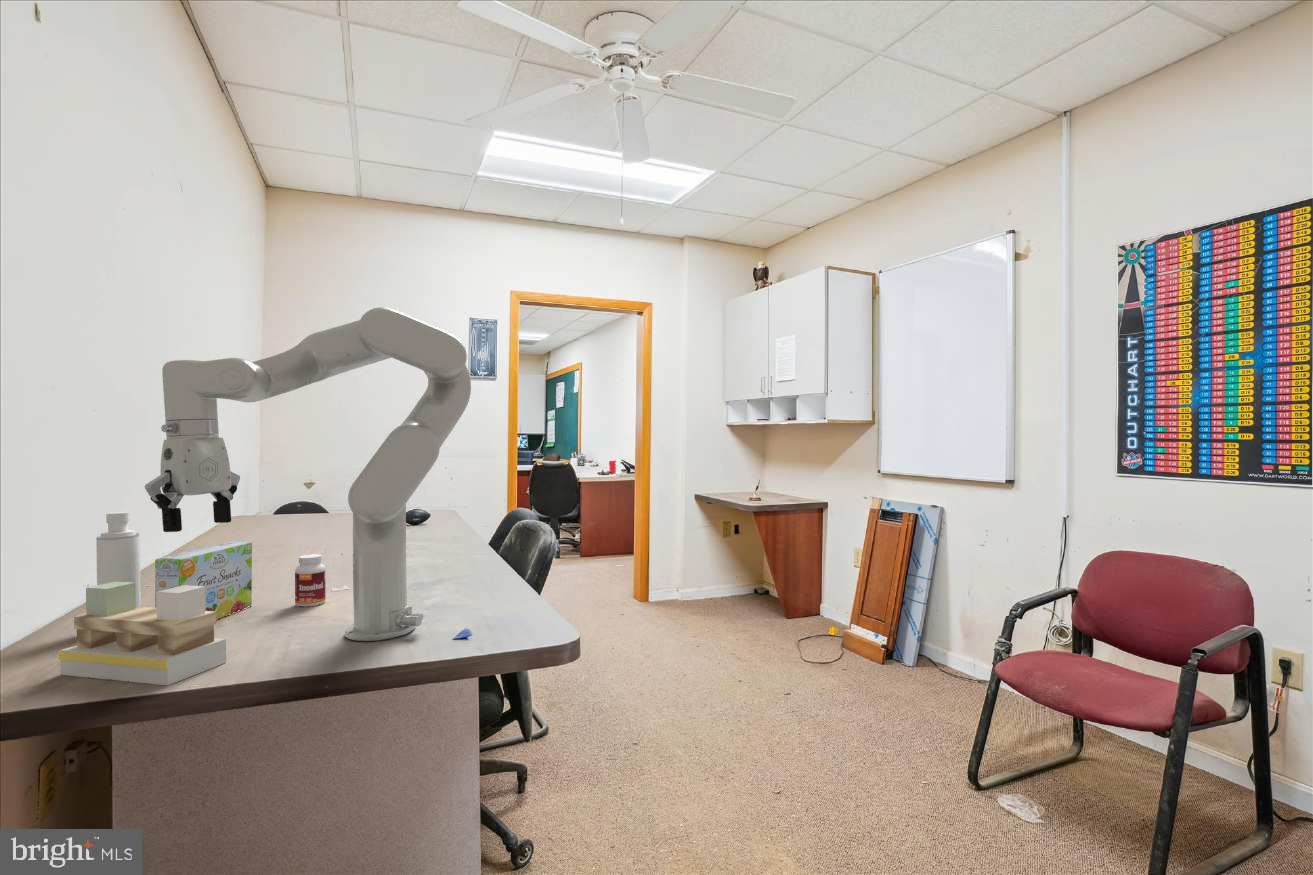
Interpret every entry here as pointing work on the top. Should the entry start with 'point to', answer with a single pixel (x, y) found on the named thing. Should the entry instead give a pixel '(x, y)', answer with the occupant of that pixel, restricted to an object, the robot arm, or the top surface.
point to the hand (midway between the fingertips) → (198, 526)
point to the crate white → (180, 603)
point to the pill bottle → (310, 581)
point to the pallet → (145, 631)
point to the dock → (141, 662)
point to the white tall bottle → (119, 553)
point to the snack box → (211, 575)
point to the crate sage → (110, 598)
